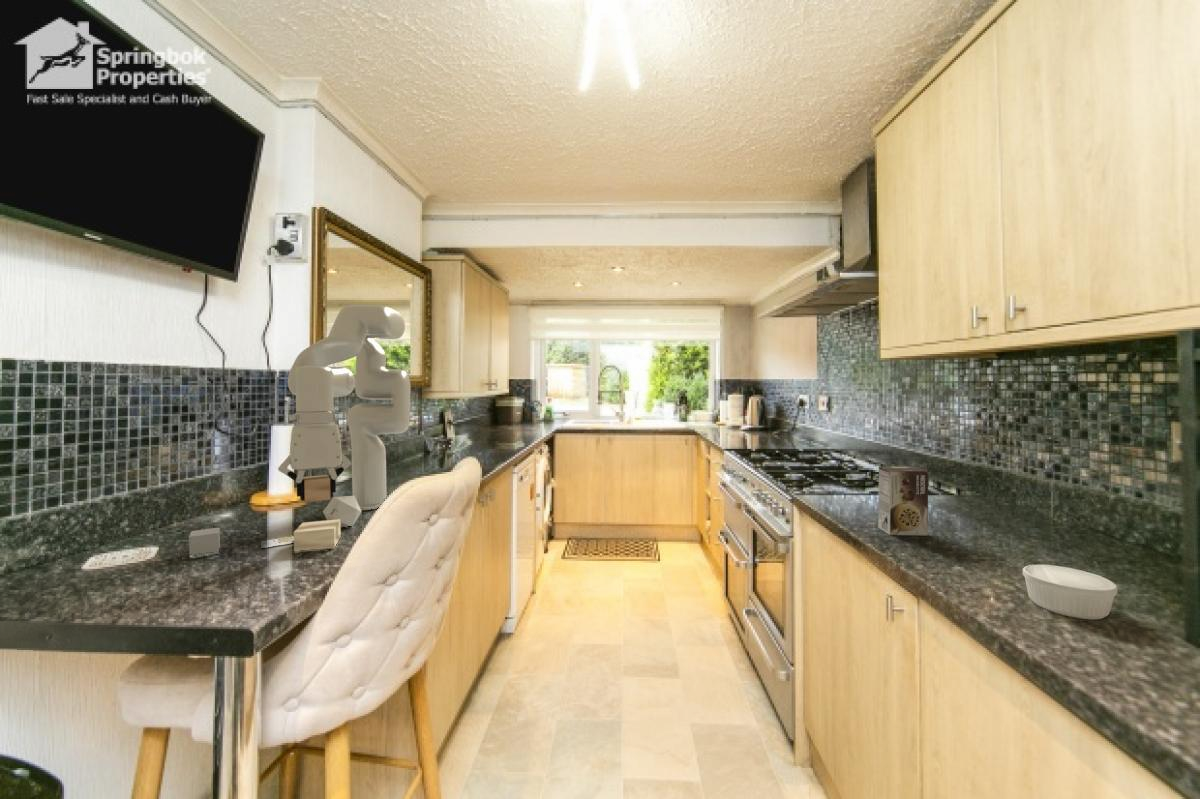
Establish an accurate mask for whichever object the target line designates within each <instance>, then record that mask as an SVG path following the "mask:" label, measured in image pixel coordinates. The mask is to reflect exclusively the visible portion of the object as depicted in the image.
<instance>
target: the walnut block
mask: <svg viewBox="0 0 1200 799" xmlns="http://www.w3.org/2000/svg"><path fill="white" fill-rule="evenodd" d="M329 476H330V475H329V474H324V475H323V474H322V475H311V476H303V482H304V496H305V500H303V501H304V503H314V502H322V501H329V500H330V501H331V497H330V477H329Z"/></svg>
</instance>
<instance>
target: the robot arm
mask: <svg viewBox="0 0 1200 799" xmlns="http://www.w3.org/2000/svg"><path fill="white" fill-rule="evenodd" d="M405 326H406V325H405V320H404V317H403V315H402V314H401V313H400V312H399V311H397V310H396V309H393V308H391V307H388V306H385V305H381V304H380V305H379V304H377V305H375V304H374V305H373V304H372V305H371V304H350V305H349V304H348V305H346V306H344V307H342V308H341V309H340V310H339V312H338V314H337V316H336V317H335V319H334V322H333V324H332V327H331V328H330V331H329V333H328V335H327V337H324V338H321V339H320V340H318V341H316V342H314V343H313V344H311V345H310V346H307V347H306V348H305V349H303V350H302V351H301V352H300V353H299V354H298V355H297V357H296V358H295V360H294V362H293V364H292V365H291V368H290V370H289V373H288V376H287V387H288V389H289V391H290V392H291V394H293V396H295V413H294V414H288V422H294V423H295V424H296V425H293V426H292V428H291V434H290V442H289V455H288V456H287V457H285V458H286V459H284V460H283V462H282V463H281V464H280V465H279V466H278V467H277V469H278V472H280V473H282V474H283V475H286V476H287V477H289V478H290V479H291V480H293V481H294V482H296V497H297V498H298V497H299V499H300V501H304V500H305V496H304V482H303V477H305V476H304V475H305V472H306V471H310V470H323V469H327V472H328V476H329V477H330V498H333V497H334V493H336V492H337V490H336V488H337V487H336V480H337V479H338V477H339V476H340V475H341V474H342V473H343V472H344V471H346V470H347V469H348V468H349V467H350V466H351V482H352V483H351V485H352V496H355V498H356V500H357V503H358V505H359V507H360V509H361V511H369V510H370V511H371V509H372V510H377V508H378V507H379V505H380V504H381V503H382V502H383V500H384V499H385V498H386V497H387V495H388V494H387V492H388V491H387V451H386V450H387V449H386V446H385V444H384V443H383V441H382V439H381V438H380V437H379V436H380V435H398V434H400V435H401V434H405V433H406V432H407V431H408V429H409V425H410V418H411V416H410V415H411V379H410V376H409V374H408V372H406V371H405V370H403V369H397V368H395V369H393V368H386V366H387V355H386V352H385V351H384V349H383V348H382V347H381V345H380V344H379V343H377V341H376V340H397V339H400V338H402V336H403V335H404V333H405V328H406V327H405ZM353 358H355V375H354V373H353V372H352V371H351V370H350V369H348V368H346V367H343V366H330V365H334V364H338V363H343V362H345V361H348V360H350V359H353ZM353 391H354V392H355V395H356V396H357V397H358V398H359V399H362V400H372V401H373V400H377V401H378V400H379V401H380V400H381V401H383V400H386V401H387V400H392V403H389V402H388V403H387V402H386V403H380V402H379V403H378V402H377V403H373V402H371V403H370V402H369V403H360V404H356V405H353V406H351V408H349V410H348V412H347V416H346V418H347V419H346V420H347V427H348V432H349V436H350V443H351V444H350V445H351V460H350V459H349V458H348V457H347V456H346V455H345V454H344V453H343V452H342V440H341V432H340V428H339V425H338V424H336V423H335V411H334V410H335V408H334V406H335V405H334V403H335V402H334V400H335V398H342V397H347V396H349V395H350V394H352V393H353ZM378 435H379V436H378ZM289 466H290V468H291V469H293V470H294V471H297V472H296V473H295V472H294V471H292V470H291V469H289V468H288V467H289ZM335 468H336V469H335ZM387 498H388V497H387ZM378 509H379V508H378Z"/></svg>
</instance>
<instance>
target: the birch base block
mask: <svg viewBox="0 0 1200 799" xmlns="http://www.w3.org/2000/svg"><path fill="white" fill-rule="evenodd" d="M341 529H342V528H341V527H340V519H338V520H327V519H325V520H316V521H305V522H301V524H300V525H299V526H298V527H297V528H296V529H295V530H294V531H293V535H294V544H293V552H294V551H300V550H310V549H324V548H325V549H326V548H335V546H336V544H337V543H338V541H339V539H340V538H341V539H342V537H341V536H342V534H341V533H342V532H341V531H342V530H341ZM341 539H340V540H341ZM339 542H340V541H339ZM338 544H339V543H338ZM338 544H337V545H338ZM336 547H337V546H336ZM335 549H336V548H335Z"/></svg>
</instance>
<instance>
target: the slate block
mask: <svg viewBox="0 0 1200 799" xmlns="http://www.w3.org/2000/svg"><path fill="white" fill-rule="evenodd" d="M220 530H221V529H220V527H213V528H212V527H211V528H204V529H197V530H192V531H191V532H190V534H189V536H188V549H189V556H190V554H198V553H206V552H214V551H219V548H220V549H221V535H220V534H221V532H220Z"/></svg>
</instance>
